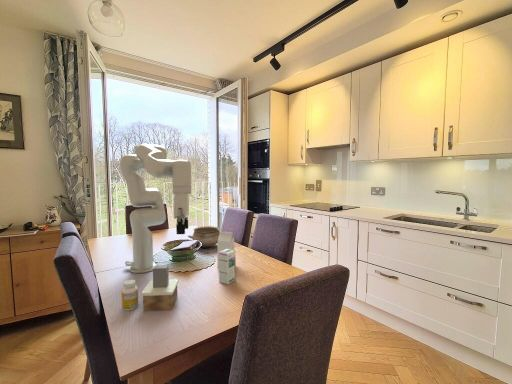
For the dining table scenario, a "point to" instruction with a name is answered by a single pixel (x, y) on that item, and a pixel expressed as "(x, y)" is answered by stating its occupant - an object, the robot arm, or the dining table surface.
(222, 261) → the syrup box
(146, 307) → the box
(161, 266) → the lid
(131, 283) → the supplement bottle
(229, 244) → the milk carton
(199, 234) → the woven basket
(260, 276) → the dining table surface
